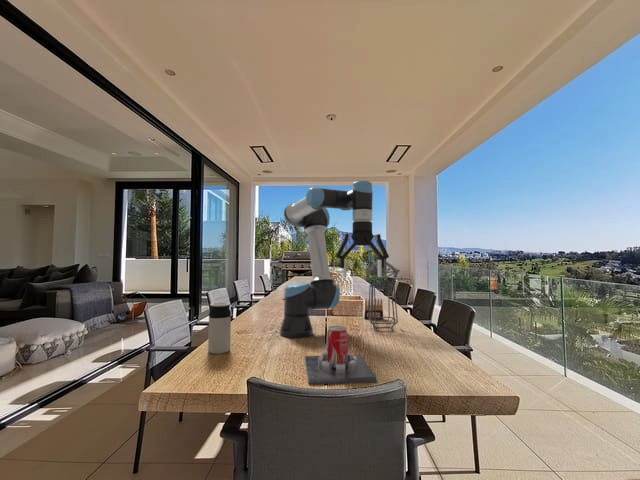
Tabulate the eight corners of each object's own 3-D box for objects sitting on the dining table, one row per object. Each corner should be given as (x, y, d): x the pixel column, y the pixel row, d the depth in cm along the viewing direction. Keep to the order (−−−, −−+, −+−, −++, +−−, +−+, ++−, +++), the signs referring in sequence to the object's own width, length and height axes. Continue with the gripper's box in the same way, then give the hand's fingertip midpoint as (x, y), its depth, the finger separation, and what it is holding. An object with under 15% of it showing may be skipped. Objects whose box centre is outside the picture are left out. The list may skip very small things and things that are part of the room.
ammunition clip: (382, 318, 183) (382, 297, 183) (383, 319, 181) (383, 298, 182) (364, 318, 183) (364, 297, 183) (364, 319, 181) (364, 298, 181)
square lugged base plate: (308, 384, 91) (308, 370, 91) (304, 360, 111) (305, 349, 111) (376, 382, 93) (376, 368, 93) (360, 359, 113) (360, 347, 113)
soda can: (325, 361, 105) (325, 325, 106) (346, 361, 106) (346, 325, 106) (327, 369, 98) (327, 330, 99) (350, 369, 99) (350, 330, 99)
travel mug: (227, 354, 117) (228, 305, 118) (205, 354, 117) (206, 305, 117) (232, 347, 125) (233, 301, 126) (211, 348, 125) (212, 301, 125)
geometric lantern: (402, 333, 149) (400, 259, 150) (368, 334, 149) (367, 260, 150) (394, 325, 165) (393, 258, 166) (364, 326, 165) (363, 258, 166)
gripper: (331, 219, 117) (331, 277, 116) (397, 221, 120) (397, 277, 119) (329, 221, 125) (328, 276, 124) (390, 223, 127) (390, 276, 126)
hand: (362, 276), depth 121 cm, fingers open, 13 cm apart
